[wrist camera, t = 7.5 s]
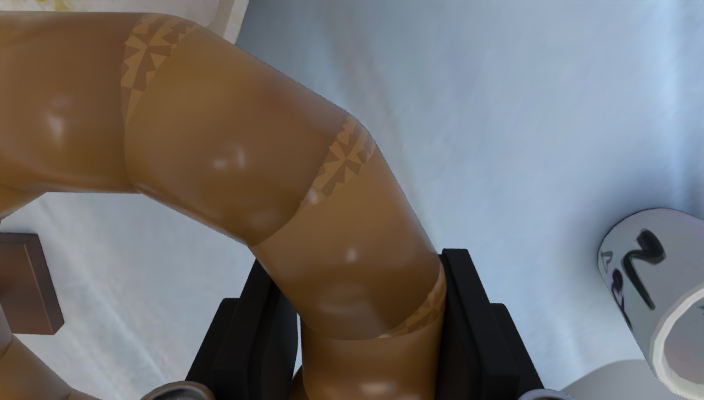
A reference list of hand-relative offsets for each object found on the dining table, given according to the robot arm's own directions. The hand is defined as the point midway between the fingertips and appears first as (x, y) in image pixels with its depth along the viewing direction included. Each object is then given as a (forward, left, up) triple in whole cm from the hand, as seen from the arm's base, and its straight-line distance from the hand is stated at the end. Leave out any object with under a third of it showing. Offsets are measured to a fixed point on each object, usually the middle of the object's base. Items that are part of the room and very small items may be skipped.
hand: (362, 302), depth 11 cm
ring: (0, -5, +1) cm, 5 cm away
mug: (+10, +25, -22) cm, 35 cm away
